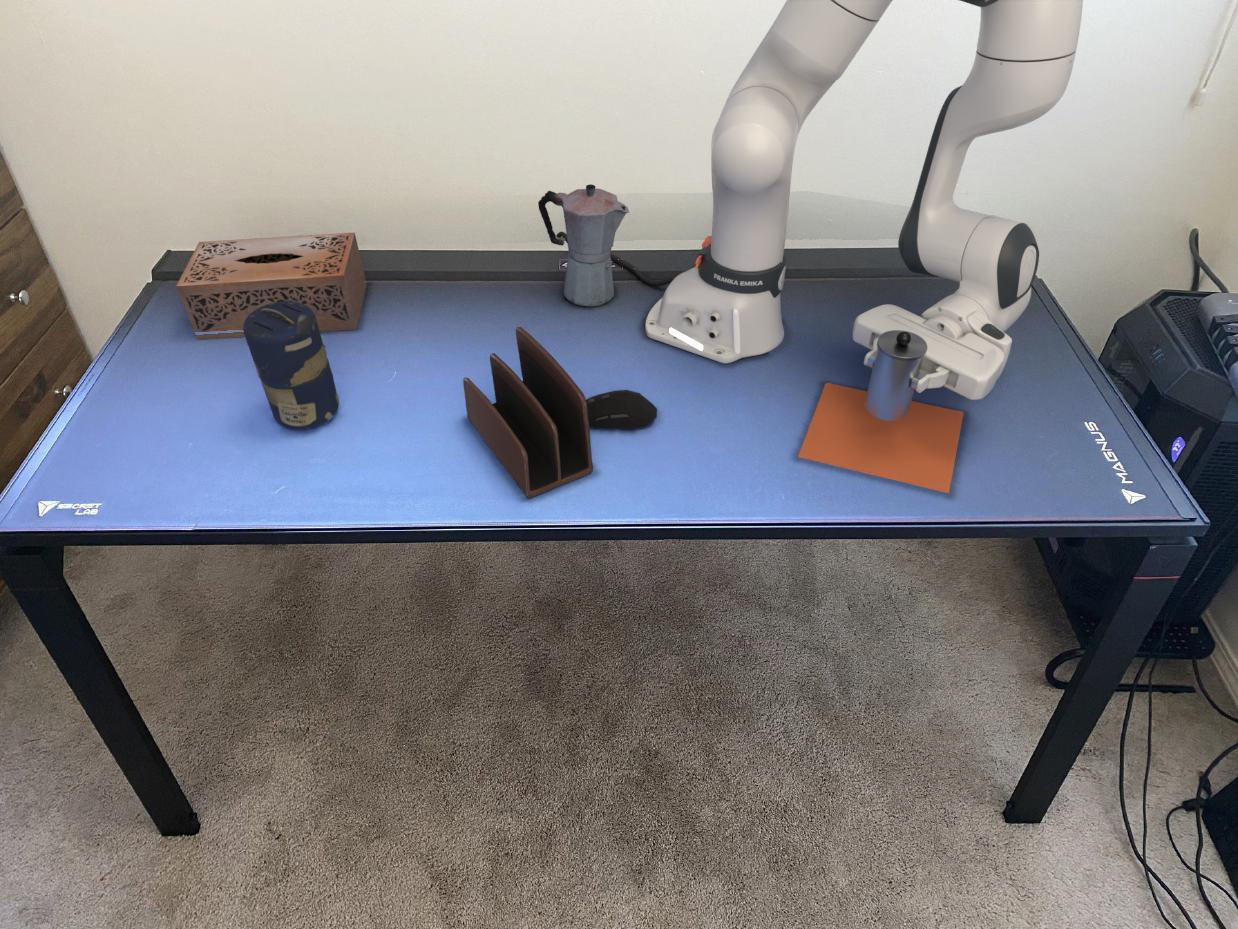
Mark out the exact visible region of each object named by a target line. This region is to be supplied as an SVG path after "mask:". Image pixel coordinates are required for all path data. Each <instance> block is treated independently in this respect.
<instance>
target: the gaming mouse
mask: <svg viewBox="0 0 1238 929" xmlns="http://www.w3.org/2000/svg"><path fill="white" fill-rule="evenodd" d="M586 403H587V414H588V422H589V429H600V430H601V429H602V430H621V431H623V430H625V431H633V430H638V429H639V430H640V429H644V428H646V427H648V426H650V424H652V423H653V422H654V421H655V420H656V419H657V417H658V408H657V406H655V405H654V404H653V403H652V402H651V401H650V400H648V399H647V397H645V396H644V395H642V393H640V392H637V391H632V390H629V389H618V390H610V391H608V392H603V393H599V394H596V395H593V396H590V397H588V398H586Z"/></svg>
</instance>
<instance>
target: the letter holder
mask: <svg viewBox="0 0 1238 929" xmlns="http://www.w3.org/2000/svg"><path fill="white" fill-rule="evenodd" d="M515 338H516V344H517V345H516V346H517V351H518V359H519V366H520V371H521V377H522V379H521V378H520V377H519V376H518V375H517V374H516V372H515V371H514V369H512V368H511V367H510V366H509V365H508V364H507V363H506V362H505V361H503V359H502V358H500V356H499V355H497V353H494V352H493V353H490V355H489V363H490V371H491V377H492V384H493V391H494V398H495V402H494V403H492V401H491V400H490V399H489V398H488V397H487V395H485V394H484V392H482V390H481V389H480V388H479V387H478V386H477V385H476V384H475V383H474V382H473V381H472V380H471V379H470V378H469V377H466V376H465V377H463V379H462V384H463V385H462V386H463V390H464V392H463V393H464V399H465V408H466V416H467V419H468V421H469V422H470V423H471V424H472V426H473V427H474V428H475V431H477V432H478V434H479V435H480V436H481V438H482V439H483V440H484V442H485V443H486V445H487V446H488V447H489V449H490V450H491V451H492V453H493V454H494V456H495V457H496V458H497V459H498V461H499V462H500V463H501V465H502V466H503V467H504V469H506V471H507V473H508V474H509V475H510V476H511V478H512V479H513V480H514V482H515V483H516V484H517V486H518V487H519V488H520V489H521V491H522V492H523V494H524V496H526V497H527V498H528V499H531V498H533V497H536V496H538V495H541V494H543V493H546V492H548V491H550V490H553V489H555V488H558V487H561V486H562V485H566V484H568V483H570V482H572V481H575V480H578V479H580V478H583V477H585V476H587V475H590V474H592V473H593V471H594V462H593V455H592V454H593V453H592V443H591V431H590V430H591V428H589V422H588V414H587V403H586V399H587V398H586V396H585V394H584V391H582V389H581V388H580V387H579V386H578V385H577V383H576V382H575V380H573V378H572V377H571V376H570V375H569V373H568V372H567V371H566V370H565V369H564V367H563V366H562V365H561V364H560V363H559V362H558V361H557V360H556V359H555V357H554V356H553V355H552V354H551V353H550V352H549V351H548V350H547V349H546V348H545V347H544V346H543V345H542V344H541V343H540V342H539V341H537V340H536V339H535V337H533V336H532V335H531V334H530V333H529V332H527V330H526V329H524V328H523V327H521V326H516V327H515Z"/></svg>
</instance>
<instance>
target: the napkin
mask: <svg viewBox="0 0 1238 929" xmlns="http://www.w3.org/2000/svg"><path fill="white" fill-rule="evenodd" d="M823 386H824V387H823V389H822V392H821V394H820V397H819V400H818V402H817V404H816V407H815V410H814V413H813V415H812V418H811V420H810V423H809V426H808V428H807V431H806V435H805V436H804V439H803V441H802V443H801V444H802V445H801V446H800V449H799V452H798V454H797V457H798V458H800V459H805V460H810V461H814V462H817V463H822V464H824V465H825V464H826V465H830V466H833V467H838V468H843V469H846V470H850V471H855V472H859V473H862V474H867V475H871V476H875V477H879V478H884V479H889V480H892V481H897V482H900V483H905V484H908V485H913V486H917V487H921V488H925V489H929V490H934V491H938V492H942V493H946V494H949V493H950V490H951V484H952V479H953V473H954V468H955V461H956V456H957V453H958V452H957V451H958V447H959V446H958V445H959V441H960V435H961V430H962V425H963V419H964V411H961V410H957V409H956V410H955V409H951V408H947V407H942V406H937V405H933V404H928V403H924V402H918V401H913V400H912V401H911V405H910V408H909V412H908V414H907V416H906V417H905V418H903V419H901V420H898V421H884V420H880V419H877V418H875V417H873V416H872V415H870V414H869V413H868V412H867V410H866V408H865V401H866V397H867V392H868V390H862V389H857V388H855V387H854V388H853V387H849V386H844V385H839V384H835V383H830V382H825V384H824V385H823Z"/></svg>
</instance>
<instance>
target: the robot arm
mask: <svg viewBox="0 0 1238 929" xmlns="http://www.w3.org/2000/svg"><path fill="white" fill-rule="evenodd" d="M958 1H959V2H963V3H967V4H970V5H972V6H976V7H979V8H980V23H979V30H978V38H977V43H976V51H975V57H974V61H973V65H972V67H971V70H970V72H969V74H968V76H967V77H966V79H965V81H964V82H963V84H962V85H960V86H957V87H955V88H954V89H952V90H951V92H950V93H949V94H948V95H947V96H946V99H945V100H944V102H943V104H942V106H941V108H940V111H939V113H938V115H937V119H936V122H935V125H934V128H933V131H932V133H931V137H930V141H929V144H928V147H927V150H926V155H925V157H924V162H923V165H922V169H921V171H920V176H919V180H918V183H917V186H916V190H915V193H914V197H913V200H912V203H911V205H910V208H909V211H908V213H907V215H906V218H905V220H904V222H903V225H902V227H901V230H900V233H899V235H898V241H897V242H898V243H897V246H898V251H899V254H900V257H901V259H902V261H903V262H904V264H905V266H906V268H907V269H908V270H909V271H910V272H912V273H915V274H920V275H925V276H930V277H939V278H942V279H945V280H948V281H952V282H955V283H959V287H958V289H956V290H955V291H954V292H953V293H952V294H949V295H946V296H945V297H944V298H942V299H941V300H939V301H938V302H936V303H935V304H933V305H932V306H930V307H929V308H927V309H926V310H924V311H923V312H922V313H921V314H920V315H918V314H916V313H914V312H911V311H909V310H906V309H904V308H903V307H900V306H898V305H895V304H889V303H888V304H887V303H886V304H881V305H879V306H875V307H873V308H871V309H868V310H866V311H865V312H863V313H861V314H859V315H858V316H856V318H855V320H854V322H853V327H852V340H853V341H854V342H855V343H856V344H859V345H861V346H862V347H864V348H866V349H868V350H870V351H869V352H867V353H866V354H865V356H864V360H863V365H864V366H867V367H868V368H870V369H872V370H873V366H874V361H875V357H876V353H877V348H878V347H877V341H878V338H879V336H880V335H881V334H883V333H885V332H887V331H892V330H903V331H908V332H912V333H914V334H916V335H918V336H920V337H921V338H923V339H924V340H925V342H926V343H927V352H926V354H925V355H924V357H923V360H922V364H921V368H920V371H919V373H918V374H917V376H915V377H913V378H912V380H911V385H910V388H911V389H913V390H914V392H915V391H916V393H918V394H921V393H922V392H924V391H925V390H926V389H939V388H943V387H945V388H947V389H948V390H950V391H952V392H954V393H956V394H958V395H960V396H963V397H964V398H966V399H968V400H971V401H979V400H982V399H984V398H985V397H986V396H988V395H989V393H990V392H991V391H992V390H993V389H994V387H995V386H996V384H997V381H998V379H1000V378H1001V375H1002V373H1003V371H1004V369H1005V367H1006V365H1007V362H1008V359H1009V356H1010V352H1011V349H1012V344H1013V339H1012V337H1011V336H1009V335H1008V334H1007V333H1006V331H1007V330H1008V329H1009V328H1010V327H1011V326H1013V325H1014V324H1015V323H1016V321H1017V320H1018V319H1019V318H1020V317H1021V315H1022V314H1023V313H1024V312H1025V310H1026V309H1027V307H1028V305H1029V304H1030V300H1031V297H1032V286H1033V284H1034V281H1035V278H1036V275H1037V271H1038V267H1039V261H1040V250H1039V246H1038V242H1037V239H1036V236H1035V235H1034V234H1035V233H1034V232H1033V230H1032V229H1031V228H1030V226H1029V225H1028V224H1027V223H1025V222H1021V221H1017V220H1013V219H1011V218H1010V219H1009V218H1006V217H1001V216H998V215H991V214H986V213H982V212H978V211H973V210H970V209H965V208H961V207H960V206H958V205H957V204H956V203H955V200H954V193H955V190H956V188H957V184H958V181H959V177H960V175H961V171H962V168H963V164H964V162H965V159H966V155H967V152H968V149H969V148H970V145H971V144H972V143H973V141H975V139H977V138H980V137H983V136H987V135H992V134H996V133H1001V132H1005V131H1008V130H1013V129H1016V128H1019V127H1023V126H1025V125H1028V124H1030V123H1032V122H1034V121H1037V119H1039V118H1041V117H1043V116H1044V115H1046V114H1047V113H1048V112H1050V111H1051V110H1052V109H1053V108H1054V107H1055V106H1056V105H1057V104H1058V103H1059V101H1060V100H1061V99H1062V97H1063V96H1064V94H1065V92H1066V90H1067V88H1068V85H1069V82H1070V79H1071V76H1072V71H1073V68H1074V63H1075V59H1076V54H1077V48H1078V43H1079V36H1080V31H1081V22H1082V14H1083V3H1084V0H958ZM892 2H893V0H786V1H785V2H784V5H783V6H782V8H781V10H780V11H779V13H778V15H777V16H776V18H775V20H774V21H773V23H772V24H771V26H770V28H769V29H768V30H767V32H766V34H765V36H764V37H763V38H762V40H761V41H760V43H759V45H758V46H757V48H756V49H755V51H754V52H753V54H752V56H751V57H750V59H749V60H748V62H747V63H746V65H745V67H744V69H743V70H742V71H741V73H740V75H739V76H738V78H737V80H736V81H735V83H734V85H733V87H732V88H731V90H729V93H728V96H727V98H726V100H725V103H724V104H723V107H722V110H721V112H720V114H719V116H718V119H717V122H716V124H715V126H714V129H713V132H712V135H711V140H710V141H711V143H710V150H711V152H710V153H711V154H710V155H711V156H710V157H711V158H710V161H711V162H710V163H711V164H710V165H711V166H710V167H711V172H710V174H711V189H712V208H713V209H712V222H711V235H708V236H706V238H704V241H703V242H702V243H701V248H700V250H699V251H698V253H697V258H696V259H695V266H694V267H692V268H689V269H688V270H686V271H683V272H681V273H679V274H677V273H676V274H675V275H674V276H675V277H667V278H662V279H659V280H654V279H650V278H648V277H647V276H645V275H644V274H643V273H642V272H641V270H640V269H638V268H637V267H636V266H635V265H633V264H631V263H630V262H628V261H626V260H624V259H622V258H621V257H619V256H616V255H615V254H612V253H611V254H610V258H611V261H613V262H615V263H617V264H619V265H621V266H623V267H625V269H627V270H629V271H631V272H632V273H633V274H634V275H635V276H637V278H638V279H640V280H641V282H643V283H644V284H647V285H649V286H653V287H660V286H664V285H668V286H667V287H666V289H665V291H664V293H663V295H662V297H661V298H660V299H658V301H657V302H655V304H654V305H653V306H652V308H651V309H650V310H649V312H648V314H647V316H646V319H645V325H644V331H645V335H646V336H647V337H648V338H649V339H652V340H655V341H657V342H660V343H663V344H666V345H670V346H672V347H675V348H678V349H680V350H683V351H687V352H690V353H693V354H695V355H698V356H700V357H704V358H706V359H709V360H712V361H715V362H718V363H720V364H731V363H733V362H736V361H738V360H740V359H742V358H748V357H755V356H760V355H764V354H766V353H769V352H770V351H772V350H774V349H775V348H777V347H778V346H779V345H780V344H781V343H782V342H783V340H784V338H785V329H784V324H783V319H782V318H783V317H782V309H781V308H782V307H781V306H782V305H781V304H782V303H781V292H782V290H783V289H784V284H785V277H786V270H787V266H786V261H787V255H786V252H785V246H786V236H787V228H788V222H789V221H788V220H789V215H790V214H789V212H790V198H791V186H792V174H793V164H794V156H795V149H796V145H797V140H798V137H799V134H800V131H801V129H802V128H803V125H804V123H805V122H806V119H807V118H808V116H809V115H810V114H811V112H813V110H814V109H815V107H816V106H817V105H818V103H819V102H820V101H821V99H822V98H823V97H824V95H825V94H827V92H828V91H829V90H830V89H831V87H832V86H833V85H834V84H835V83H836V82H837V81H838V80H840V79H841V77H842V76H843V74H844V73H845V72H846V70H847V69H848V67H849V65H850V64H851V63H852V61H853V60H854V58H855V57H856V55H857V54H858V52H859V51H860V49H861V48H862V47H863V45H864V44H865V42H866V40H867V39H868V37H870V35H871V34H872V32H873V30H874V29H875V28H876V26H877V25H878V23H879V22H880V20H881V18H882V17H883V15H884V14H885V13H886V12H887V10H888V8H889V6H890V4H892ZM555 235H556V238H557V239H560V238H562V239H563V240H564V242H565V243H566V244H567V245H568V241H567V234H566V232H565V231H559V232H558V233H557V234H555ZM618 259H619V260H618ZM633 268H636V269H637V270H638V271H637V270H635V269H633Z"/></svg>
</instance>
